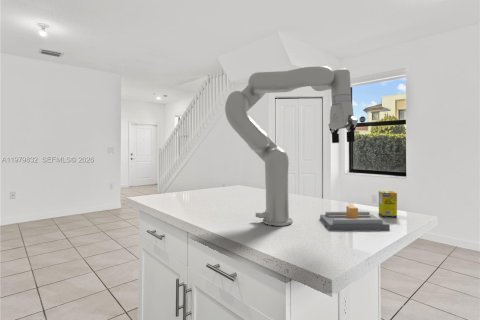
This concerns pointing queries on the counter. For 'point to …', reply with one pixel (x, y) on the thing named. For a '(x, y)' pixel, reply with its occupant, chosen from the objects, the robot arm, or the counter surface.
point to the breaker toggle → (351, 212)
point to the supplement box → (388, 204)
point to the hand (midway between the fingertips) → (342, 142)
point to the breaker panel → (329, 223)
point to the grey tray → (354, 221)
